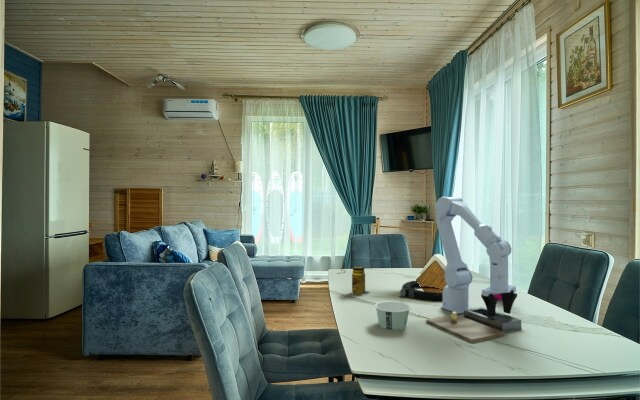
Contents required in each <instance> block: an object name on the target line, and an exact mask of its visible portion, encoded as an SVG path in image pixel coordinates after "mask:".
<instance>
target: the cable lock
mask: <svg viewBox="0 0 640 400" xmlns="http://www.w3.org/2000/svg"><path fill="white" fill-rule="evenodd" d="M416 288H421V287H420V286H419V284H418V283H417V280H411V281H407V282H405V283H403V285H402V286H401V289H400V291H399V292H400V295H401V297H403V298H408V297H409V298H413V299H414V298H415V299H420V300H423V301H424V300H425V301H439V302H440V301H442V302H443V293H440V292H438V293H437V291H435V292H434V291H424V290H420V289H416Z"/></svg>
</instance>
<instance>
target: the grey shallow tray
mask: <svg viewBox="0 0 640 400" xmlns="http://www.w3.org/2000/svg"><path fill="white" fill-rule="evenodd" d="M463 317H465V318H467V319H470V320H473V321H475V322H478V323H481V324H483V325H486V326H489V327H491V328H494V329H497V330H499V331H502V332H505V333H508V332H513V331H517V330H522V319H521V318H517V317H514V316H511V315H509V314H506V313H502V312H499V311H495V316H494V317H492V316H490V315H488V311H487V308H486V307H483V306H481V307H479V306H478V307H472V308H469V309H467V310H464V313H463Z"/></svg>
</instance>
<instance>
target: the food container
mask: <svg viewBox="0 0 640 400" xmlns="http://www.w3.org/2000/svg"><path fill="white" fill-rule="evenodd" d="M374 307H375V309H376V314H377V315H376V316H377V320H378V321H377V322H378V326H379V327H381V328H383V329H386V330H394V331H397V330H403V329H405V328H407V324H408V319H409V313H410V310H411V306H410V305H409V304H408V303H405V302H401V301H393V300H392V301H391V300H389V301H388V300H387V301H378V302H377V303H375V304H374Z"/></svg>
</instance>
